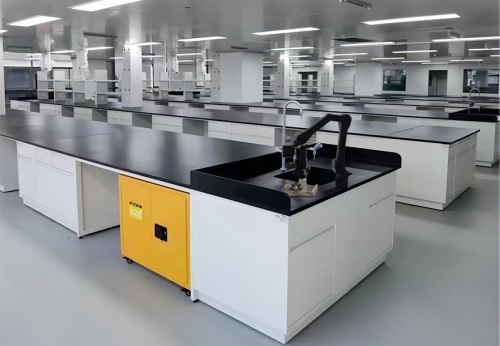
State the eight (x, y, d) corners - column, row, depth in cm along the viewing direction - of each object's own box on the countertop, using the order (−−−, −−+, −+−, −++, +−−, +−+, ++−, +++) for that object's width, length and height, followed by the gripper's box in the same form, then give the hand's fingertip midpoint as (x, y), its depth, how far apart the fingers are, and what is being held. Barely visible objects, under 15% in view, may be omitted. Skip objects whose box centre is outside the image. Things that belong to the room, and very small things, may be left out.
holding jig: (317, 189, 230) (317, 184, 230) (313, 196, 215) (313, 191, 215) (286, 188, 235) (286, 184, 235) (280, 195, 220) (280, 190, 219)
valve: (298, 189, 232) (289, 194, 221) (298, 177, 230) (289, 181, 220) (309, 190, 228) (301, 195, 218) (309, 178, 227) (301, 182, 217)
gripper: (289, 154, 240) (290, 181, 243) (282, 159, 223) (283, 188, 225) (309, 154, 237) (310, 182, 240) (304, 159, 219) (304, 189, 222)
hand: (301, 185), depth 232 cm, fingers closed
